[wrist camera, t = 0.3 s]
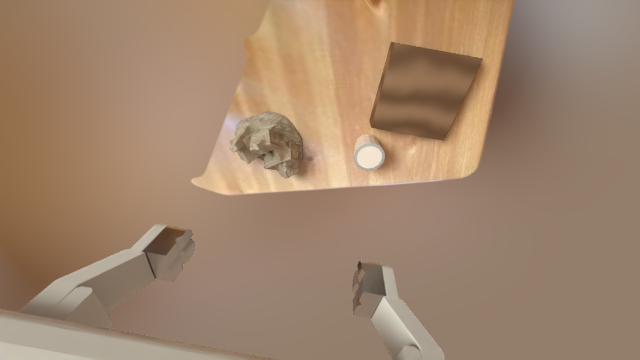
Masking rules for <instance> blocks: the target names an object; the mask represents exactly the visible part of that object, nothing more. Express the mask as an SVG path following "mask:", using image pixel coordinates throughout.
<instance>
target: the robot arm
mask: <svg viewBox="0 0 640 360" xmlns="http://www.w3.org/2000/svg"><path fill="white" fill-rule="evenodd" d="M192 235H193V234H192V230H189V229H184V228H179V227H175V226H170V225H165V224H160V223H158V224H156V225H154V226H153V227H152V228H151V229H150V230H149V231H148V232H147V233H146V234H145V235H144V236H143V237H142V238H141V239H140V240H139V241H138V242H137V243H136V244H135V245H134V246H133V247H132V248H131V249H130V250H129V249H126V250H123V251H121V252H119V253H116V254H114V255H112V256H109V257H107V258H105V259H103V260H100V261H98V262H96V263H94V264H91V265H89V266H87V267H84V268H82V269H80V270H78V271H75V272H73V273H71V274H69V275H66V276H64V277H62V278H59V279H57V280H55V281H54V282H53V283H52V284H50V285H49V286H48V287H47V288H46V289H44V290H43V291H42V292H41V293H40V294H38V295H37V296H36V297H35V298H34V299H32V300H31V301H30V302H29V303H28V304H26V305H25V306H24V307H23V308H22V309H20V311H18V312H13V311H8V310H2V309H0V360H276V359H271V358H266V357H260V356H254V355H249V354H244V353H238V352H232V351H227V350H222V349H216V348H211V347H205V346H200V345H194V344H188V343H183V342H178V341H172V340H167V339H161V338H156V337H150V336H145V335H139V334H134V333H129V332H123V331H118V330H112V329H109V328H110V326H111V325H112V324H113V319H112V318H111V316H110V315H109V313H108V311H110V310H111V309H112V308H114V307H116V306H117V305H119V304H120V303H121V302H123V301H124V300H126V299H127V298H129V297H130V296H132V295H133V294H135V293H136V292H138V291H139V290H141V289H142V288H144V287H145V286H147V285H148V284H150V283H151V282H153V281H154V280H155V279H159V280H166V281H175V279H176V278H177V277H178V275H179V274H180V272H181V271H182V270H183V266H182V264H184V263H186V262H188V261H189V260H190V258H191V257H192V255H193V252H194V247H195V244H194V241H193V240H192V239H191V237H192ZM357 267H358V270H357V271H355V273H354V277H353V289H352V290H353V292H354V294H355V296H354V298H353V315H358V316H363V317H368V318H372V319H371V320H372V322H373V323H374V326H375V327H376V329H377V331H378V333H379V335H380V337H381V339H382V340H383V342H384V344H385V346H386V348H387V350H388V351H389V354H390V355H391V357H392V359H393V360H445V357H444V354H443V351H442V350H441V349H440V347H439V346H438V345H437V343H436V342H435V341H434V340H433V338H432V337H431V336H430V334H429V333H428V332H427V331H426V329H425V328H424V327H423V326H422V324H421V323H420V322H419V320H418V319H417V318H416V317H415V315H414V314H413V313H412V311H411V310H410V309H409V308H408V306H407V305H406V304H405V303H404V301H402V300H401V299H399V297H398V292H397V287H396V283H395V278H394V273H393V268H392V267H391V266H388V265H383V264H378V263H372V262H366V261H361V260H360V261H359V263H358V265H357Z"/></svg>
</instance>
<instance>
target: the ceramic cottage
mask: <svg viewBox="0 0 640 360" xmlns="http://www.w3.org/2000/svg"><path fill="white" fill-rule="evenodd" d="M230 143H231V145H230V150H231V151H232V152H236V151H237V153H238V155H239V156H240V158H241V159H242V160H244V161H246V162H247V164H250V163H251V162H252V161H253V160H255V159H256V158H258V157H259V158H261V159H263V160H264V164H265V166H264V168H265V169H273V170H277V171H279V173H280V175H281V176H282V177H284V178H289V177H291V176H292V175H294V174H295V173H297V172H298V171H299V167H298V166H299V164H300V163H301V162H302V159H303V152H302V151H303V150H302V139H301V136H300V135H299V133H298V132H297V130H296V128H295V127H294V125H293V124H292V123H291V122H290V121H289V119H288V118H286V117H285V116H283V115H281V114H278V113H274V112H265V113H262V114H259V115H257V116H252V117H250V118H247V119H244V120H242V121H240V122H239V124H238V125H237V128H236V131H235V138H234V139H233V140H231V141H230Z"/></svg>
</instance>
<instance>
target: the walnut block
mask: <svg viewBox="0 0 640 360" xmlns="http://www.w3.org/2000/svg"><path fill="white" fill-rule="evenodd" d="M482 60H483V59H482V58H477V57H471V56H466V55H460V54H455V53H449V52H444V51H438V50H433V49H427V48H422V47H416V46H411V45H405V44H400V43H394V42H391V44H390V48H389V52H388V55H387V59H386V62H385V66H384V70H383V73H382V77H381V81H380V84H379V88H378V92H377V95H376V99H375V102H374V106H373V110H372V113H371V117H370V125H371V128H377V129H382V130H388V131H393V132H399V133H404V134H410V135H415V136H421V137H426V138H432V139H437V140H443V141H444V139H445V137H446V135H447V133H448V131H449V129H450V127H451V124H452V122H453V120H454V118H455V116H456V114H457V112H458V110H459V108H460V106H461V104H462V101H463V99H464V97H465V95H466V93H467V91H468V89H469V87H470V85H471V83H472V81H473V78H474V76H475V74H476V72H477V70H478V68H479V66H480V64H481V62H482Z"/></svg>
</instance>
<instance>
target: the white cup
mask: <svg viewBox="0 0 640 360" xmlns="http://www.w3.org/2000/svg"><path fill="white" fill-rule="evenodd" d="M384 159H385V152H384V151H383V149H382V147H381V145H380V144H379V142H378V140H377V138H376V137H374V136H373V135H369V134H366V135H362V136H361V137H359V138H358V140H357V141H356V145H355V151H354V162H355V164H356V165H357V167H359V168H360V169H362V170H366V171H370V170H375V169H377V168H379V167H380V166H381V165H382V164H383V162H384Z"/></svg>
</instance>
